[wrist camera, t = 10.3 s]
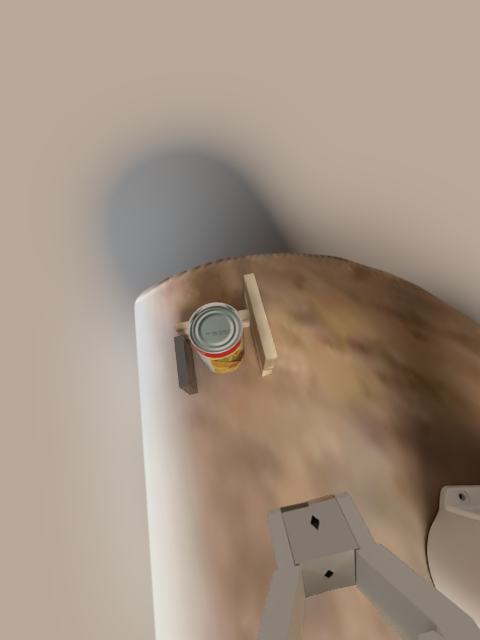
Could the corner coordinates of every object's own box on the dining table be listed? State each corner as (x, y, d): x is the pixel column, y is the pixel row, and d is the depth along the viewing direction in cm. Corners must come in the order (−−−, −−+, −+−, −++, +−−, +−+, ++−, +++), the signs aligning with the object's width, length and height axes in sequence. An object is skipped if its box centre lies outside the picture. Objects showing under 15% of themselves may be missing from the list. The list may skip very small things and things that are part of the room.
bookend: (191, 349, 47) (182, 335, 40) (197, 392, 43) (188, 385, 37) (184, 351, 46) (174, 337, 40) (189, 394, 43) (179, 387, 37)
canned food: (253, 352, 46) (254, 325, 35) (222, 383, 44) (213, 365, 33) (223, 324, 48) (216, 292, 38) (193, 352, 46) (175, 326, 35)
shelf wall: (252, 305, 50) (253, 273, 40) (270, 374, 44) (277, 355, 34) (180, 320, 49) (163, 290, 39) (189, 392, 43) (171, 378, 33)
